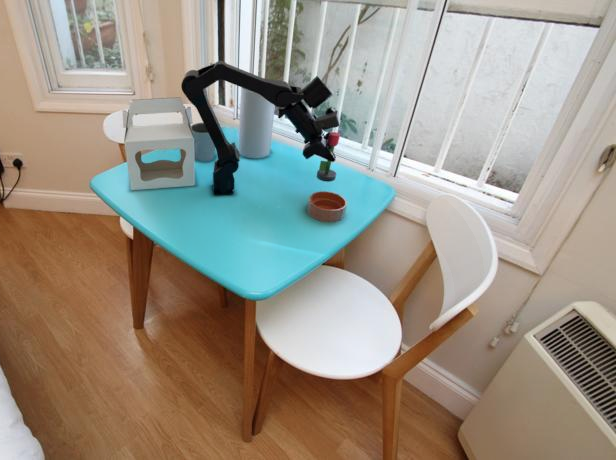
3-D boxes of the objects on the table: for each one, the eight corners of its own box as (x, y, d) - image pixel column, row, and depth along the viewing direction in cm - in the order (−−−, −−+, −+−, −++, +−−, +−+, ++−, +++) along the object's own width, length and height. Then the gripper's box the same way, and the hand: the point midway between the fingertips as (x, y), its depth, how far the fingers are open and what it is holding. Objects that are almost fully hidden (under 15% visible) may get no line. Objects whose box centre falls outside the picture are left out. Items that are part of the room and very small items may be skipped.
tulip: (336, 174, 117) (345, 131, 109) (334, 183, 113) (344, 138, 105) (317, 171, 119) (325, 129, 111) (315, 180, 115) (323, 136, 106)
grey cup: (200, 149, 152) (200, 120, 145) (222, 155, 147) (222, 125, 140) (185, 158, 145) (184, 128, 138) (207, 165, 140) (207, 134, 133)
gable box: (192, 168, 139) (189, 90, 122) (195, 186, 128) (193, 103, 112) (131, 172, 137) (120, 94, 120) (130, 190, 126) (118, 107, 110)
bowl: (313, 224, 109) (316, 211, 106) (302, 204, 117) (304, 192, 114) (349, 222, 109) (352, 209, 106) (335, 203, 118) (338, 190, 115)
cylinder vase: (272, 159, 143) (279, 92, 129) (239, 159, 144) (242, 93, 129) (267, 145, 153) (273, 82, 139) (236, 146, 154) (239, 82, 139)
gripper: (322, 112, 97) (357, 158, 100) (329, 92, 111) (360, 132, 114) (287, 137, 104) (321, 179, 107) (298, 115, 118) (328, 153, 121)
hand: (334, 159), depth 112 cm, fingers closed on tulip
